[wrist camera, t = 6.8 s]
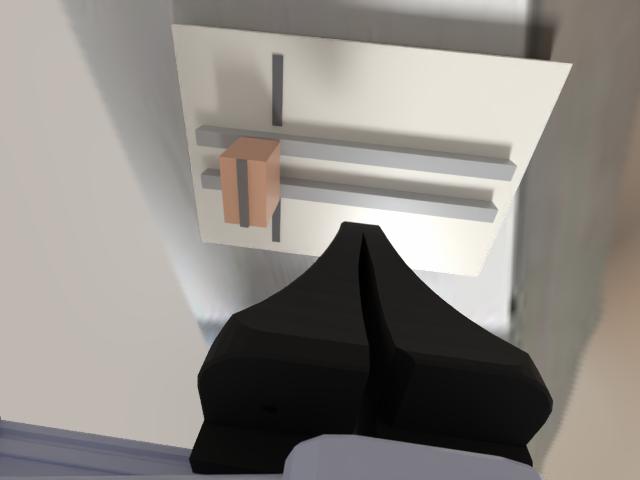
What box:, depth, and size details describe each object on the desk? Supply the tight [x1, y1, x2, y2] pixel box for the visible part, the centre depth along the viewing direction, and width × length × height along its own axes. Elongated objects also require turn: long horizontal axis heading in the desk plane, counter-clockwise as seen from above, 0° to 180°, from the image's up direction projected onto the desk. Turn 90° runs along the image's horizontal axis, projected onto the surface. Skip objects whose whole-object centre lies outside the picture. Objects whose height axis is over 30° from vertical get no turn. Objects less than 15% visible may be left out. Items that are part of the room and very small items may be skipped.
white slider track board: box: [171, 24, 573, 277], centre depth 18 cm, size 12×18×3 cm, turn 86°
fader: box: [219, 137, 281, 228], centre depth 16 cm, size 3×2×4 cm, turn 176°
